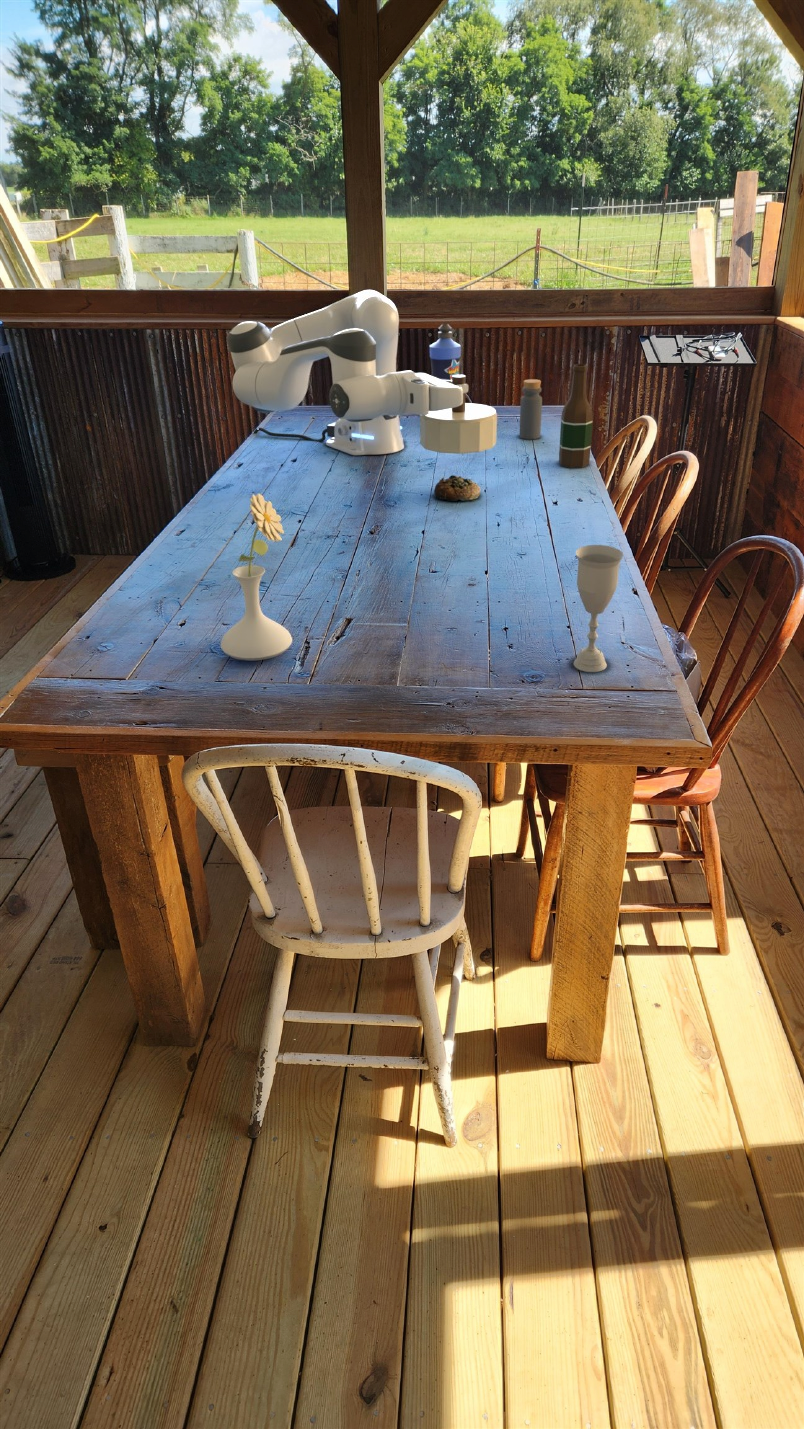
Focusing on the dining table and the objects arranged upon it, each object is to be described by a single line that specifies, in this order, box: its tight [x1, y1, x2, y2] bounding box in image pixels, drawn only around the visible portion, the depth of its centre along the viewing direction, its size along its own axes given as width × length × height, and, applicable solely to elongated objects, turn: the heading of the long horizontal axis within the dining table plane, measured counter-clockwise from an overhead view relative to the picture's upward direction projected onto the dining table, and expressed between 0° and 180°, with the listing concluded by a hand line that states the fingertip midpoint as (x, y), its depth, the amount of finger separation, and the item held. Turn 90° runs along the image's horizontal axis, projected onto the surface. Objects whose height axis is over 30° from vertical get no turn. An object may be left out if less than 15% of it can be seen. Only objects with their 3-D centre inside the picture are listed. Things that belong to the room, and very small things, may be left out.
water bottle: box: [429, 323, 462, 380], centre depth 291 cm, size 9×9×25 cm
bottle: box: [518, 378, 543, 440], centre depth 263 cm, size 6×6×15 cm
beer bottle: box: [558, 363, 594, 469], centre depth 237 cm, size 8×8×24 cm
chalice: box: [573, 544, 625, 673], centre depth 143 cm, size 7×7×18 cm
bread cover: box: [419, 374, 498, 455], centre depth 213 cm, size 17×17×15 cm
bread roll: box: [434, 474, 482, 502], centre depth 222 cm, size 11×11×5 cm
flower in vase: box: [220, 493, 293, 662], centre depth 149 cm, size 13×11×25 cm
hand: (462, 385), depth 211 cm, fingers closed on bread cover, 3 cm apart
